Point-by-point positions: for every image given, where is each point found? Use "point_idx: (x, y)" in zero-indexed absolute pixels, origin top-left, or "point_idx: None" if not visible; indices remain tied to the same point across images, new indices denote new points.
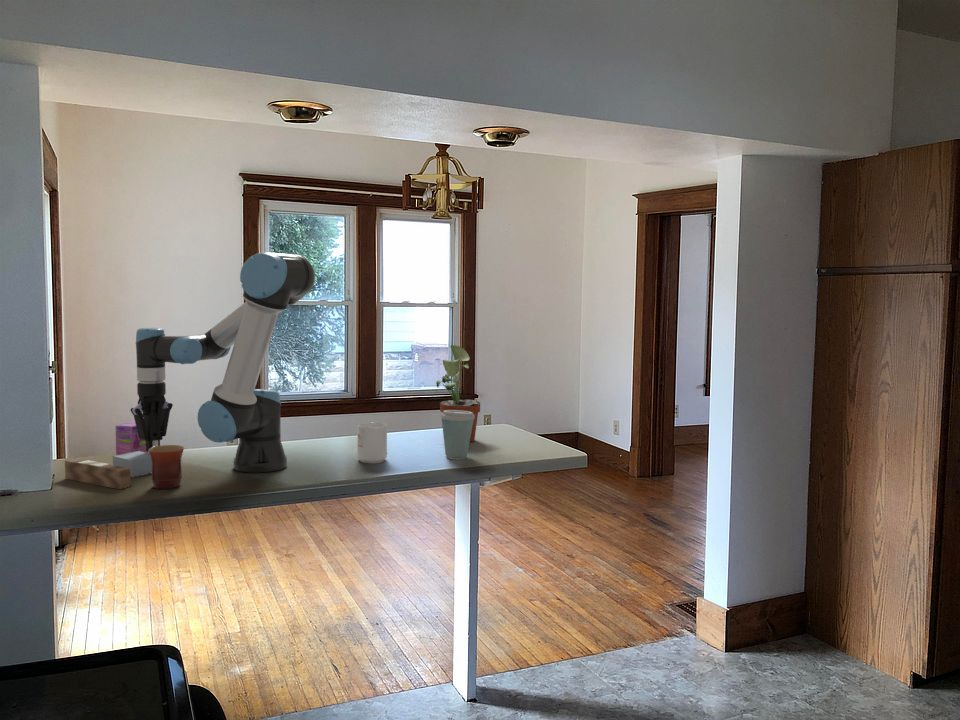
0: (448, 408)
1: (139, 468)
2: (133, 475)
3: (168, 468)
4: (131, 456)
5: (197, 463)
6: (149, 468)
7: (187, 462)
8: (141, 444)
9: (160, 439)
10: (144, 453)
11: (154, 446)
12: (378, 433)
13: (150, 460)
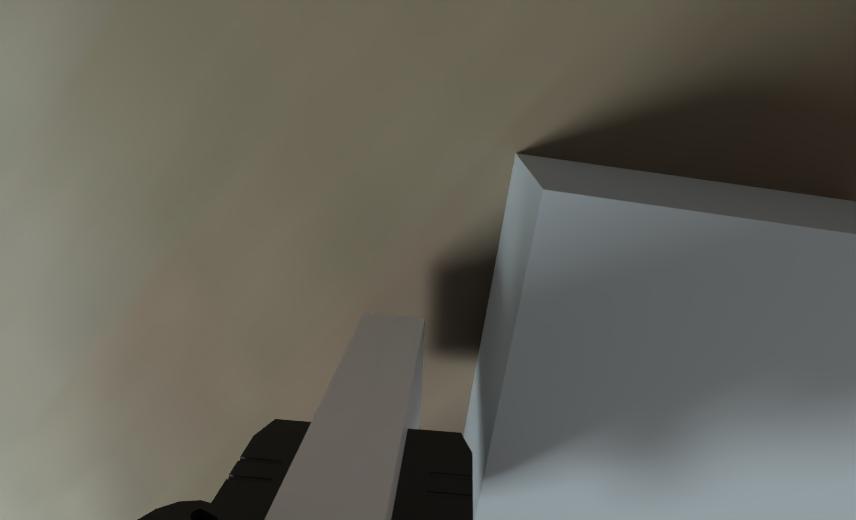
0: None
1: (816, 204)
2: (852, 201)
3: None
4: (793, 472)
5: (5, 55)
6: (648, 179)
7: (56, 197)
8: None
9: (216, 513)
10: (537, 456)
11: (384, 459)
12: None
13: (669, 197)
